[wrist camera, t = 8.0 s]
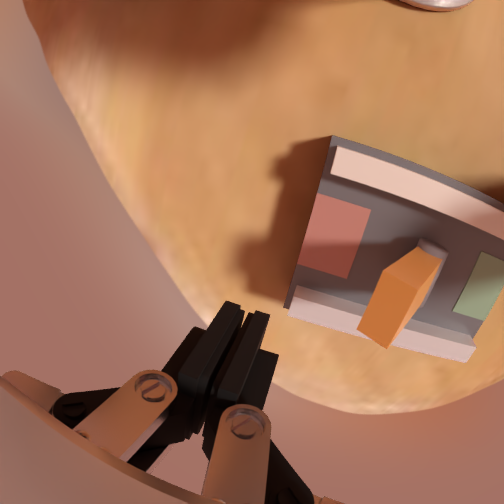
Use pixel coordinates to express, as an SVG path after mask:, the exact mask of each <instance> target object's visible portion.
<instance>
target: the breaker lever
mask: <svg viewBox="0 0 504 504" xmlns="http://www.w3.org/2000/svg"><path fill="white" fill-rule="evenodd" d="M448 254H449V252H448V250H447V249H445V248H444V247H443V246H441V245H439V244H438V243H436V242H434V241H431V240H429V239H425V238H420V239H419V242H418V244H417V247H416V248H415V249H413V250H412V251H411V252H409V253H408V254H406V255H405V256H403V257H402V258H400V259H399V260H398V261H396V262H395V263H393V264H392V265H390V266H389V267H387V268H386V269H384V270H383V272H382V274H381V276H380V279H379V281H378V283H377V286H376V288H375V290H374V293H373V295H372V297H371V299H370V301H369V304H368V306H367V308H366V310H365V312H364V314H363V316H362V318H361V321H360V323H359V325H358V327H357V330H358V331H360V332H361V333H363V334H364V335H366V336H367V337H369V338H370V339H372V340H373V341H375V342H377V343H378V344H380V345H381V346H383V347H384V348H386V349H387V348H388V347H389V346H390V344H391V343H392V342H393V341H394V339H395V338H396V337H397V336H398V334H399V333H400V332H401V331H402V329H403V328H404V327H405V325H406V324H407V323H408V321H409V320H410V319H411V317H412V316H413V315H414V313H415V312H416V311H417V309H418V308H422V307H423V306H424V304H425V303H426V301H427V299H428V297H429V295H430V293H431V291H432V289H433V287H434V284H435V282H436V280H437V278H438V276H439V274H440V272H441V269H442V267H443V265H444V263H445V261H446V258H447V256H448Z"/></svg>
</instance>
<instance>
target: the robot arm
mask: <svg viewBox="0 0 504 504" xmlns="http://www.w3.org/2000/svg"><path fill="white" fill-rule="evenodd" d="M400 1H402V2H405V3H407V4H410V5H412V6H415V7H419V8H423V9H426V10H433V11H454V10H458V9H461V8H463V7H465V6H467V5H468V4H470V3H471V2H472V1H473V0H400ZM240 307H241V306H240V305H238V304H235V303H232V302H229V301H225V303H224V304H223V306H222V307H221V309H220V310H219V312H218V313H217V315H216V316H215V318H214V319H213V321H212V322H211V324H210V325H209V327H208V328H207V330H204V329H201V328H198V327H193V328H192V330H191V331H190V333H189V334H188V335H187V336H186V338H185V340H184V341H183V342H182V343H181V345H180V346H179V347H178V349H177V350H176V351H175V353H174V354H173V356H172V357H171V358H170V360H169V361H168V362H167V364H166V365H165V367H164V368H163V369H162V371H158V370H145V371H142V372H139V373H137V374H136V375H134V376H133V377H132V378H131V379H130V380H129V381H127V382H126V383H125V384H124V385H123V386H122V387H119V388H111V389H103V390H94V391H86V392H75V393H69V394H63V393H62V392H61V390H60V389H58V388H55V387H53V386H50V385H48V384H46V383H44V382H41V381H39V380H37V379H35V378H32V377H30V376H28V375H26V374H24V373H22V372H19V371H9V372H6V373H5V374H4V375H3V376H0V504H345V503H342V502H339V501H336V500H333V499H331V498H328V497H325V496H324V497H323V498H321V497H318V496H316V495H313V494H312V492H311V491H310V489H309V488H308V487H307V486H306V484H305V483H304V482H303V481H302V479H301V478H300V477H299V476H298V474H297V473H296V472H295V471H294V469H293V468H292V467H291V465H290V464H289V463H288V461H287V460H286V459H285V458H284V456H283V455H282V454H281V452H280V451H279V450H278V448H277V447H276V446H275V444H274V443H273V442H272V440H271V439H270V437H271V436H270V435H271V422H270V420H269V418H268V416H267V415H266V414H265V413H264V412H263V411H262V410H263V407H264V404H265V400H266V397H267V394H268V391H269V387H270V384H271V381H272V377H273V374H274V371H275V367H276V364H277V360H278V357H279V355H278V354H275V353H271V352H268V351H265V350H262V349H260V346H261V343H262V340H263V337H264V334H265V330H266V327H267V324H268V321H269V317H270V315H269V314H266V313H263V312H260V311H257V310H256V311H255V313H254V314H253V313H250V312H249V313H248V315H247V317H246V319H245V321H244V323H243V325H242V321H243V317H244V313H245V311H244V310H241V309H240ZM241 325H242V327H241ZM204 422H205V424H204ZM203 424H204V429H203V434H202V436H203V437H204V440H203V445H202V449H203V451H204V453H205V455H206V457H207V458H208V460H209V463H208V467H207V471H206V475H205V480H204V484H203V488H202V492H201V495H198V494H195V493H193V492H190V491H187V490H185V489H182V488H180V487H178V486H175V485H172V484H170V483H168V482H166V481H164V480H161V479H159V478H157V477H155V476H152V475H150V474H151V472H152V471H153V470H154V469H155V468H156V467H157V466H158V464H159V463H160V462H161V461H162V460H163V458H164V457H165V456H166V455H167V454H168V452H169V451H170V450H171V448H172V447H173V445H174V443H178V442H182V441H184V440H185V438H186V439H188V440H189V439H190V437H191V435H192V433H195V434H198V433H199V432H200V430H201V428H202V426H203Z"/></svg>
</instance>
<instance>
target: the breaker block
mask: <svg viewBox="0 0 504 504" xmlns="http://www.w3.org/2000/svg"><path fill="white" fill-rule="evenodd" d="M420 238H425V239H429V240H431V241H434V242H436V243H438V244H439V245H441V246H443V247H444V248H445V249H447V250H448V252H449V254H448V256H447V258H446V261H445V263H444V265H443V267H442V269H441V272H440V274H439V276H438V278H437V280H436V282H435V284H434V287H433V289H432V291H431V293H430V295H429V297H428V299H427V301H426V303H425V304H424V306H423V307H422V308H418V309H417V311H416V312H415V313H414V315H413V316H412V317H411V319H410V320H409V321H408V323H407V324H406V325H405V327H404V328H403V329H402V331H401V332H400V333H399V334H398V336H397V337H396V338H395V339H394V341H393V342H392V343H391V344H390V345H393V346H397V347H401V348H405V349H409V350H413V351H417V352H421V353H425V354H429V355H433V356H438V357H442V358H446V359H451V360H455V361H460V362H464V363H466V362H467V361H468V359H469V358H470V356H471V355H472V353H473V352H474V350H475V349H476V345H475V343H474V341H473V338H474V336H475V334H476V333H477V331H478V330H479V328H480V326H481V325H482V323H483V321H485V319H486V317H487V316H488V314H489V312H490V310H491V309H492V307H493V305H494V303H495V301H496V299H497V297H498V296H499V294H500V292H501V290H502V288H503V286H504V204H503V203H501V202H499V201H497V200H496V199H494V198H492V197H490V196H488V195H486V194H484V193H482V192H480V191H478V190H476V189H474V188H472V187H469V186H467V185H465V184H463V183H461V182H459V181H456V180H454V179H452V178H450V177H447V176H445V175H443V174H441V173H438V172H436V171H433V170H431V169H429V168H426V167H424V166H421V165H419V164H416V163H414V162H411V161H408V160H406V159H403V158H400V157H398V156H395V155H392V154H389V153H387V152H384V151H381V150H378V149H375V148H372V147H369V146H366V145H363V144H360V143H356V142H353V141H350V140H347V139H343V138H340V137H337V136H333V135H332V138H331V142H330V146H329V150H328V154H327V158H326V162H325V166H324V169H323V173H322V177H321V181H320V184H319V188H318V192H317V195H316V199H315V203H314V206H313V210H312V213H311V217H310V220H309V224H308V227H307V231H306V234H305V238H304V241H303V245H302V248H301V251H300V255H299V258H298V261H297V265H296V268H295V271H294V274H293V278H292V281H291V284H290V287H289V290H288V294H287V297H286V300H285V303H284V306H283V308H286V309H289V311H288V315H287V316H290V317H294V318H297V319H300V320H304V321H307V322H310V323H314V324H317V325H320V326H324V327H327V328H331V329H334V330H338V331H341V332H345V333H348V334H352V335H356V336H359V337H363V338H366V339H370V338H369V337H367V336H366V335H364V334H363V333H361V332H360V331H358V330H357V327H358V325H359V323H360V321H361V318H362V316H363V314H364V312H365V310H366V308H367V306H368V304H369V301H370V299H371V297H372V295H373V293H374V290H375V288H376V286H377V283H378V281H379V279H380V276H381V274H382V272H383V270H384V269H386V268H387V267H389V266H390V265H392V264H393V263H395V262H396V261H398V260H399V259H400V258H402V257H403V256H405V255H406V254H408V253H409V252H411V251H412V250H413V249H415V248H416V247H417V244H418V242H419V239H420ZM370 340H372V339H370Z"/></svg>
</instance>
